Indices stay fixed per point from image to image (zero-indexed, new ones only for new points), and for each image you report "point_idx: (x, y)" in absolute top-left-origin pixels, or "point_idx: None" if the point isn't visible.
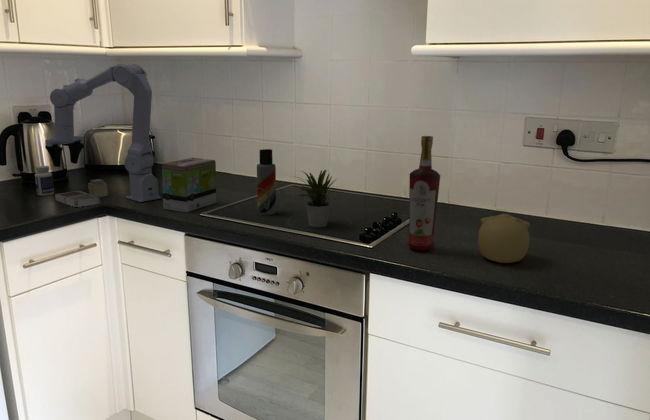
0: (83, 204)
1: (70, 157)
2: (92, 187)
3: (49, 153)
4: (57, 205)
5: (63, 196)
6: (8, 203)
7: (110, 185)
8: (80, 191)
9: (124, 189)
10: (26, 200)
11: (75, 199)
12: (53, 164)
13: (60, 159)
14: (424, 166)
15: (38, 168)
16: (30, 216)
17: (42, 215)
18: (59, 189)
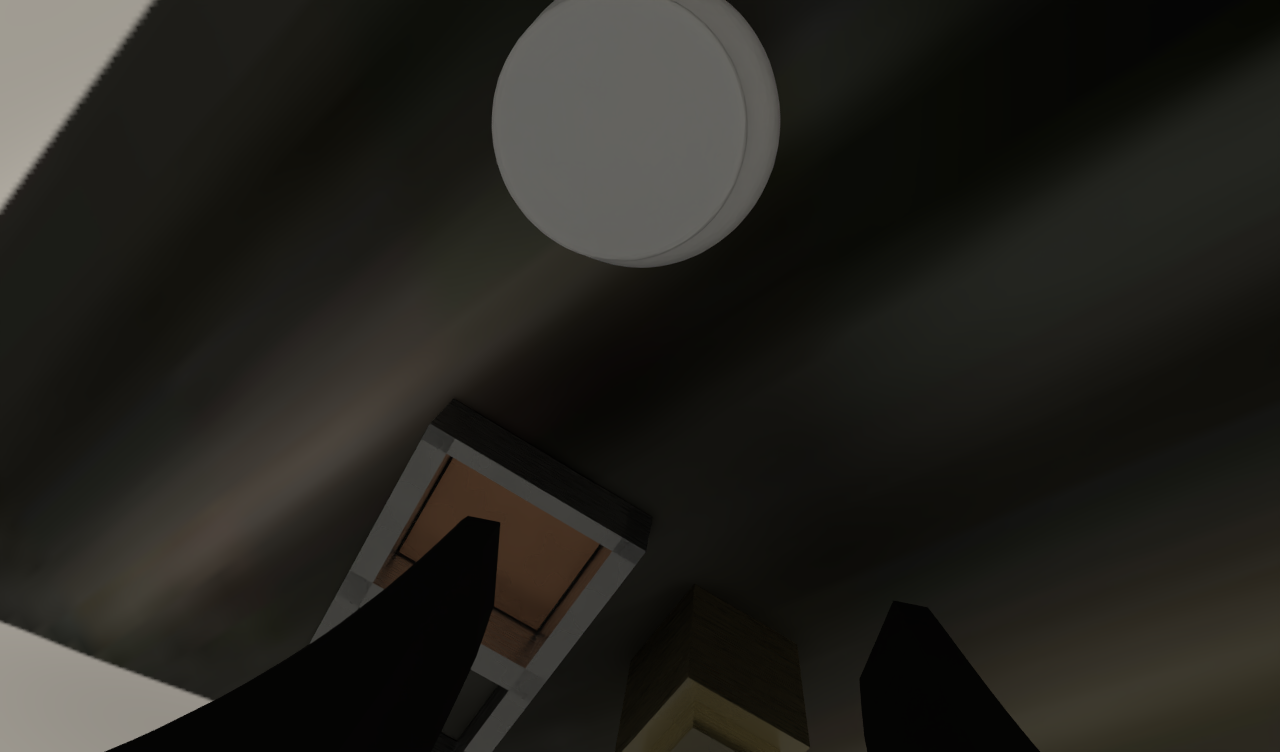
0: None
1: (932, 680)
2: (639, 710)
3: (257, 687)
4: (312, 516)
5: (385, 546)
6: (180, 16)
7: (1217, 568)
8: (611, 585)
9: None
10: (351, 117)
11: None
12: (449, 533)
13: (430, 744)
14: None
15: (497, 128)
16: (3, 511)
17: (61, 569)
18: (957, 109)
